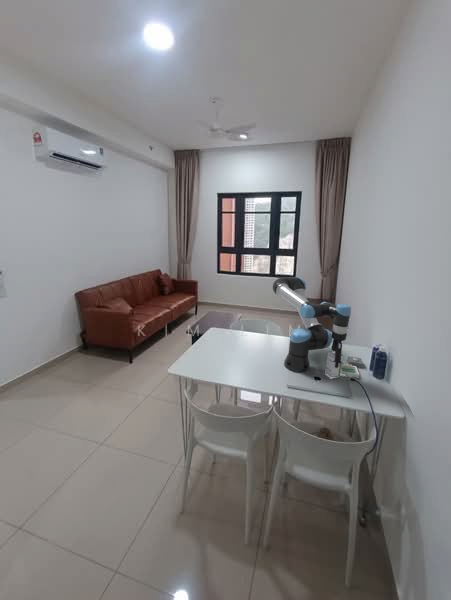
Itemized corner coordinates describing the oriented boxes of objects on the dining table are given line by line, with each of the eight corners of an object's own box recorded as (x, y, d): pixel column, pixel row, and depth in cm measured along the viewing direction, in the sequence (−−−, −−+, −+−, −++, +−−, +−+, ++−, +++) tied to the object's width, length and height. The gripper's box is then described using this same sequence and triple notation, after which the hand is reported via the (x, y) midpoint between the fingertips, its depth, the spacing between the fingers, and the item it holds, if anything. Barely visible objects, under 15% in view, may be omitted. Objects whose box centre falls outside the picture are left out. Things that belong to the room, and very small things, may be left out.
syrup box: (330, 379, 153) (334, 356, 149) (324, 374, 159) (328, 351, 155) (339, 378, 155) (343, 355, 151) (332, 373, 160) (336, 351, 156)
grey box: (350, 370, 165) (351, 364, 164) (347, 360, 177) (347, 355, 176) (364, 372, 163) (365, 367, 162) (360, 362, 175) (361, 357, 174)
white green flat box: (339, 376, 157) (340, 371, 157) (337, 365, 170) (337, 361, 169) (359, 379, 155) (360, 375, 154) (354, 368, 167) (355, 364, 167)
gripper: (350, 341, 137) (343, 378, 142) (343, 325, 160) (337, 357, 166) (335, 339, 139) (328, 376, 144) (330, 323, 162) (325, 355, 167)
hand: (333, 366), depth 155 cm, fingers open, 13 cm apart
